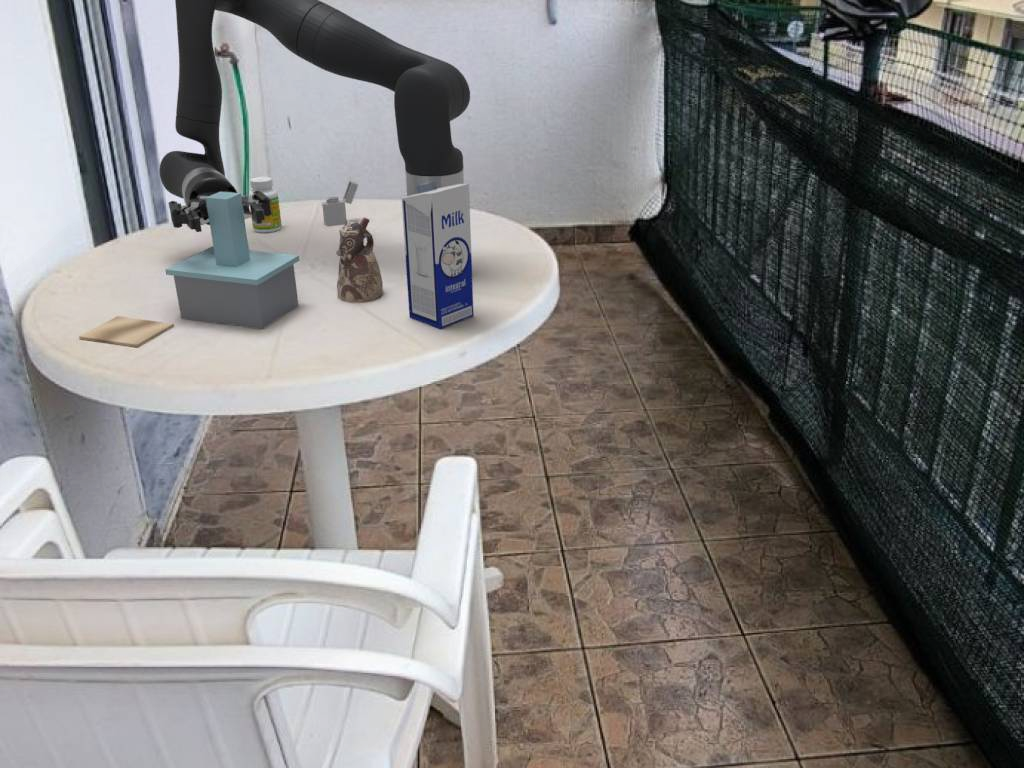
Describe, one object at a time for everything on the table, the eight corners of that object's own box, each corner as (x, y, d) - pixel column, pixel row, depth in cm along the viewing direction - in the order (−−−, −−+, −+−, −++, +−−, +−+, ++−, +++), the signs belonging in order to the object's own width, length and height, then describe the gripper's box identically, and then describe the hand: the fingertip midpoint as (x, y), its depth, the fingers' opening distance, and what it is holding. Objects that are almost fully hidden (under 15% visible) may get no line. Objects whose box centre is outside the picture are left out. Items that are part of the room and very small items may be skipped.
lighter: (326, 226, 182) (322, 185, 179) (324, 224, 184) (319, 183, 180) (361, 221, 185) (358, 181, 182) (359, 219, 187) (355, 179, 183)
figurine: (329, 293, 149) (321, 219, 144) (368, 283, 153) (362, 211, 147) (351, 306, 144) (344, 230, 138) (391, 295, 148) (386, 221, 142)
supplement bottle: (278, 233, 179) (271, 182, 175) (250, 233, 179) (242, 182, 175) (284, 225, 184) (278, 175, 179) (257, 225, 184) (250, 175, 180)
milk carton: (439, 329, 135) (432, 191, 126) (408, 318, 139) (399, 183, 130) (474, 315, 139) (470, 181, 131) (443, 305, 144) (437, 174, 135)
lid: (299, 260, 142) (291, 189, 137) (257, 285, 132) (247, 209, 127) (212, 251, 146) (202, 182, 142) (166, 274, 137) (152, 201, 132)
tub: (298, 304, 144) (293, 261, 141) (262, 328, 136) (255, 283, 133) (220, 295, 149) (214, 253, 146) (181, 318, 140) (173, 273, 137)
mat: (174, 326, 137) (173, 323, 137) (137, 347, 131) (137, 344, 130) (118, 318, 140) (117, 316, 140) (79, 338, 134) (79, 336, 133)
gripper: (157, 177, 143) (172, 201, 130) (251, 166, 149) (275, 189, 136) (166, 224, 147) (181, 253, 133) (258, 212, 152) (281, 239, 139)
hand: (229, 221), depth 134 cm, fingers open, 8 cm apart
